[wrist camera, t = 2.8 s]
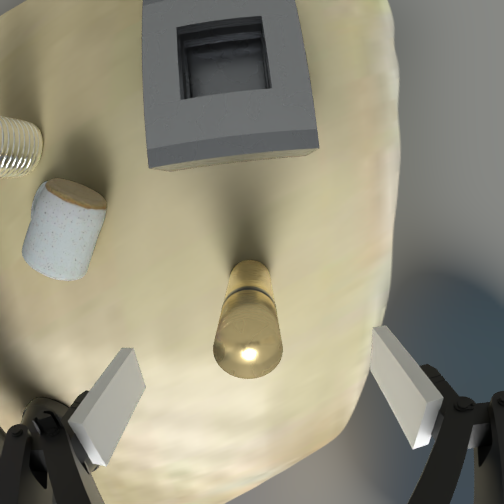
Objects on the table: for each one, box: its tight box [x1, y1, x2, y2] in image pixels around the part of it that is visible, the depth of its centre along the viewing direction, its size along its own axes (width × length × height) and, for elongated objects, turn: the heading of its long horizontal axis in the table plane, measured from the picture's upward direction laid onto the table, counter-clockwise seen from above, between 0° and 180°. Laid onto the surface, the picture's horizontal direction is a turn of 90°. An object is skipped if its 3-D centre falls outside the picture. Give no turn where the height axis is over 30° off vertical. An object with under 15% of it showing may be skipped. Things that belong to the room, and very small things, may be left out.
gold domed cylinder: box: [213, 260, 283, 379], centre depth 24 cm, size 4×4×14 cm
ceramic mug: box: [22, 178, 107, 281], centre depth 26 cm, size 11×8×8 cm
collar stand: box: [142, 0, 319, 171], centre depth 24 cm, size 17×13×6 cm
